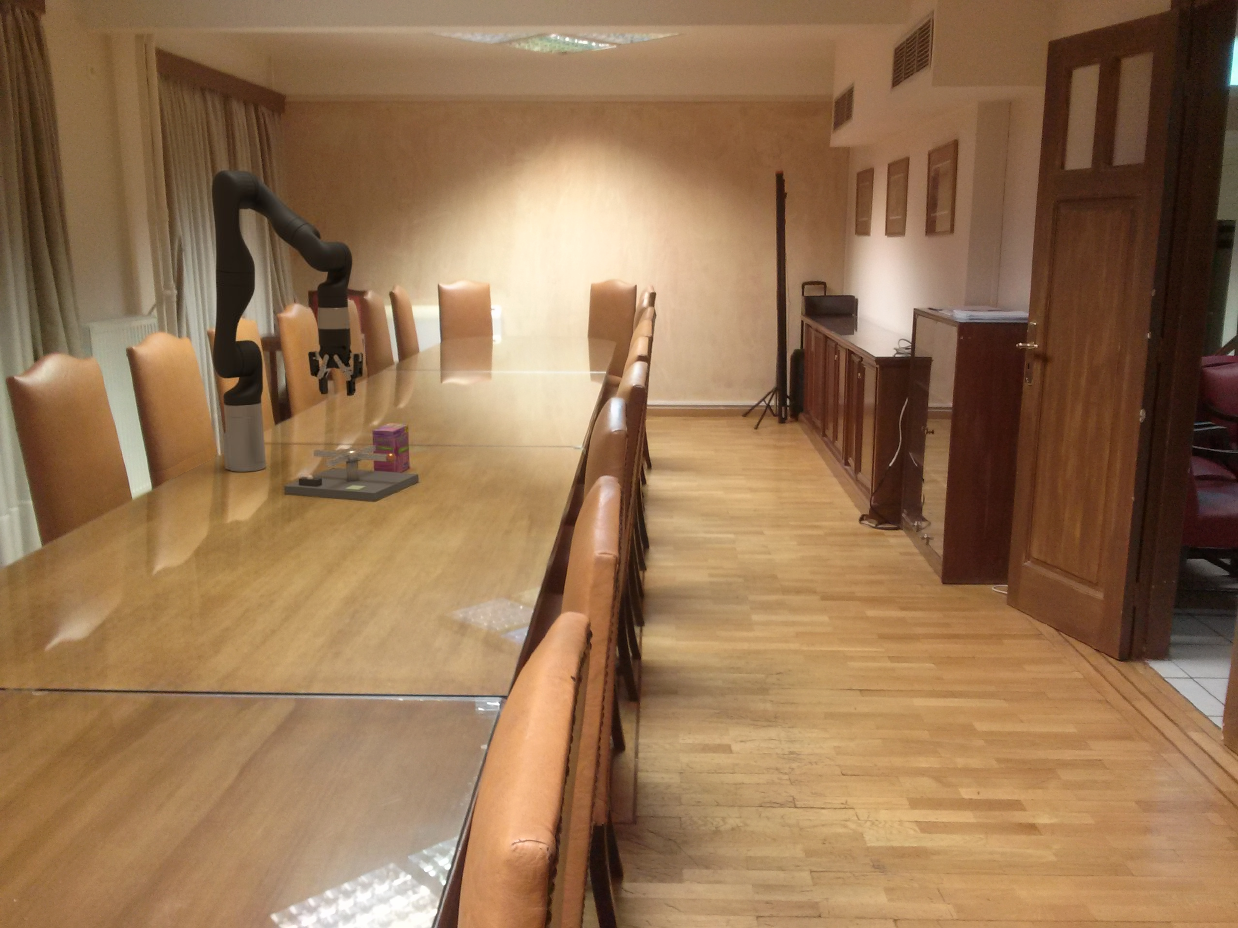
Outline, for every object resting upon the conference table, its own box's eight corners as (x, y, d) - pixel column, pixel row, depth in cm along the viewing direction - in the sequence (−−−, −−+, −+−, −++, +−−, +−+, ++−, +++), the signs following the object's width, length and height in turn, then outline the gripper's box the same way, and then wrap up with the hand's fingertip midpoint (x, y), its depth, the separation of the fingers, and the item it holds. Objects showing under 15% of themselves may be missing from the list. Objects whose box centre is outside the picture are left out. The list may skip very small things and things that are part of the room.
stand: (284, 494, 254) (282, 467, 253) (333, 475, 274) (332, 450, 273) (375, 501, 247) (373, 473, 246) (418, 481, 267) (417, 456, 266)
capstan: (291, 465, 253) (290, 455, 252) (338, 450, 271) (337, 440, 271) (374, 472, 246) (373, 461, 246) (415, 455, 265) (415, 445, 265)
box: (394, 476, 273) (392, 430, 270) (373, 475, 274) (371, 429, 271) (410, 468, 283) (408, 423, 280) (390, 467, 284) (388, 423, 281)
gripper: (299, 326, 258) (303, 395, 262) (352, 328, 254) (355, 398, 258) (316, 324, 265) (320, 391, 269) (368, 325, 261) (371, 394, 265)
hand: (337, 394), depth 263 cm, fingers open, 6 cm apart
